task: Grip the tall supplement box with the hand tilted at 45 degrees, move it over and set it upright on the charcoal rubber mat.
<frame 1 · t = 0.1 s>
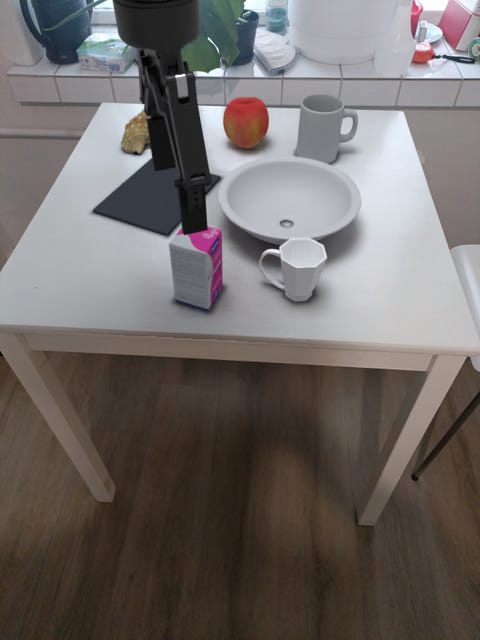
hand: (178, 197, 58), 20 cm above the table, tool pointing down, fingers open, 13 cm apart
mug: (324, 155, 103), on the table
apple: (246, 146, 106), on the table
seashell: (143, 142, 107), on the table
mat: (159, 194, 93), on the table
supplement box: (200, 295, 76), on the table
cup: (288, 290, 76), on the table
white sink basin: (286, 225, 87), on the table
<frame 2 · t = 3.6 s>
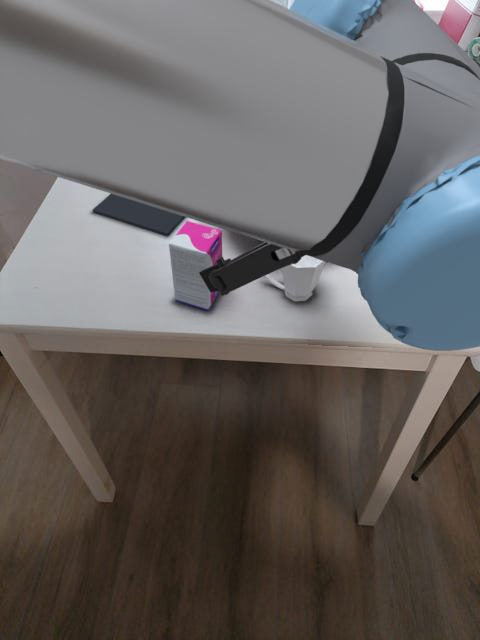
hand: (248, 254, 60), 15 cm above the table, tool tilted 45°, fingers open, 13 cm apart
nothing on the table moved.
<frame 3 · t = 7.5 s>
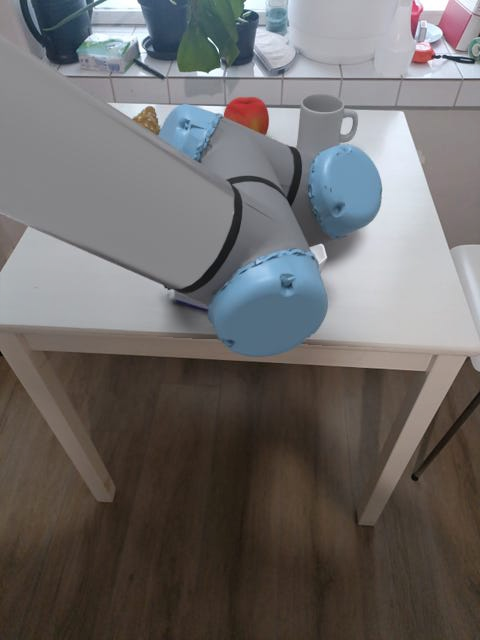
hand: (183, 266, 74), 4 cm above the table, tool tilted 45°, fingers closed on supplement box, 7 cm apart
supplement box: (200, 295, 76), on the table, touching gripper
everything else where it was.
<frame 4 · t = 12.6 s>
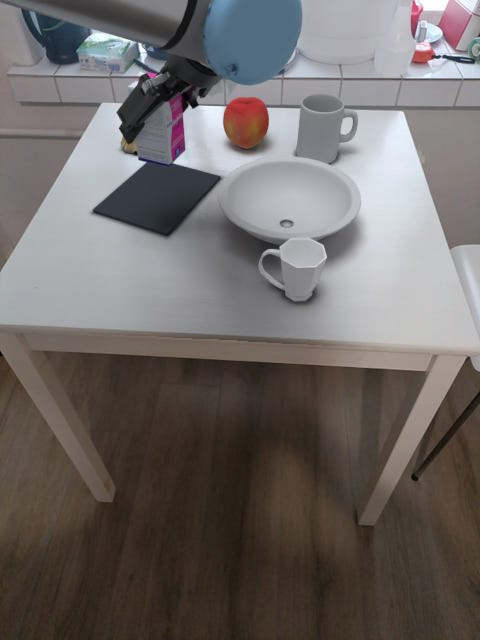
hand: (146, 126, 77), 17 cm above the table, tool tilted 45°, fingers closed on supplement box, 7 cm apart
supplement box: (163, 156, 78), point 13 cm above the table, touching gripper
everything else where it was.
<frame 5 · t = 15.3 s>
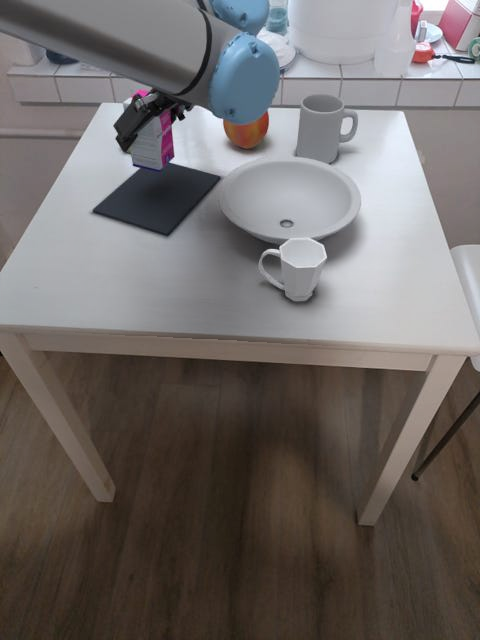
hand: (140, 136, 87), 11 cm above the table, tool tilted 45°, fingers closed on supplement box, 7 cm apart
supplement box: (154, 162, 88), point 7 cm above the table, touching gripper
everything else where it was.
when the fingers open (4 cm above the table, at t = 17.5 s): supplement box stays where it is, resting on mat.
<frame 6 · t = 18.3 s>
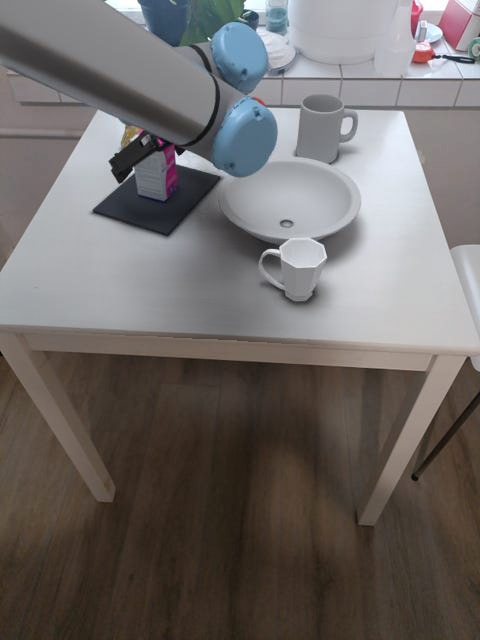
hand: (147, 162, 90), 6 cm above the table, tool tilted 45°, fingers open, 13 cm apart
supplement box: (159, 193, 93), resting on mat
everything else where it was.
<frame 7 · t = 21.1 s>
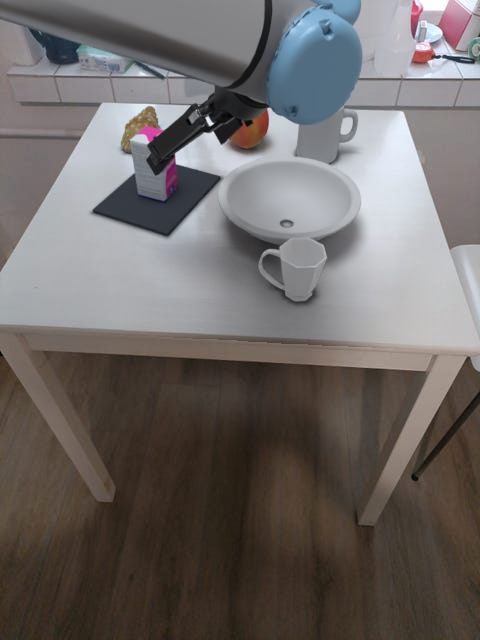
hand: (186, 151, 77), 14 cm above the table, tool tilted 45°, fingers open, 13 cm apart
nothing on the table moved.
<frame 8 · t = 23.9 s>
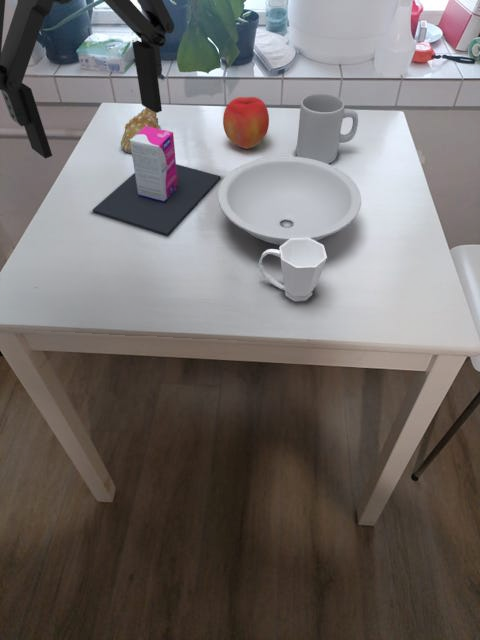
hand: (100, 129, 52), 29 cm above the table, tool pointing down, fingers open, 13 cm apart
nothing on the table moved.
at the end: supplement box inside the target area on the mat (0.1 cm from its centre), point 0.4 cm above the mat's base; supplement box tilted 0°; the gripper is holding nothing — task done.
